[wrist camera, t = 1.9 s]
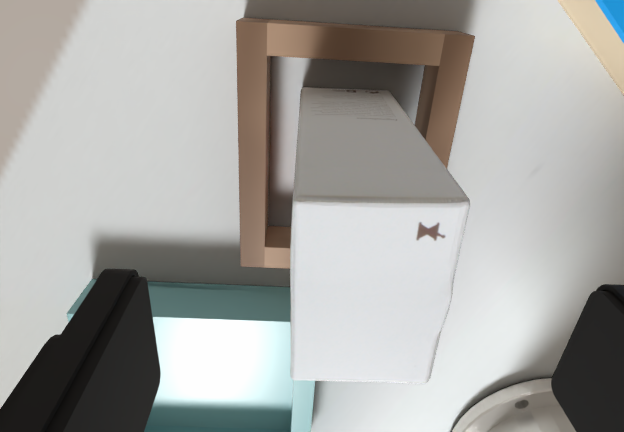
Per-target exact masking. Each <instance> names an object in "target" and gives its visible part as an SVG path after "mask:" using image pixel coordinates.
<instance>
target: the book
mask: <svg viewBox="0 0 624 432" xmlns="http://www.w3.org/2000/svg"><path fill="white" fill-rule="evenodd" d="M558 2H559V3H560V5H561V6H562V7H563V9H564V10H565V12H566V13H567V15H568V16H569V17H570V19H571V20H572V22H573V23H574V25H575V26H576V28H577V29H578V30H579V32H580V33H581V35H582V36H583V38H584V39H585V40H586V42H587V43H588V45H589V46H590V48H591V49H592V50H593V52H594V53H595V55H596V56H597V58H598V59H599V61H600V62H601V63H602V65H603V66H604V68H605V69H606V71H607V72H608V73H609V75H610V76H611V78H612V79H613V81H614V82H615V83H616V85H617V86H618V88H619V89H620V91H621V92H622V94H623V95H624V0H558Z"/></svg>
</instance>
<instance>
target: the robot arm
mask: <svg viewBox="0 0 624 432" xmlns="http://www.w3.org/2000/svg"><path fill="white" fill-rule="evenodd" d="M160 377H161V371H160V363H159V357H158V350H157V343H156V337H155V330H154V323H153V317H152V310H151V303H150V296H149V290H148V283H147V280H146V278H145V277H139V276H138V273H137V271H136V270H130V269H105V270H104V271H103V272H102V273H101V274H100V276H99V277H98V279H97V280H96V282H95V283H94V285H93V286H92V288H91V289H90V291H89V292H88V294H87V296H86V297H85V299H84V300H83V302H82V303H81V305H80V306H79V308H78V309H77V311H76V312H75V314H74V315H73V317H72V318H71V320H70V321H69V323H68V324H67V326H66V327H65V329H64V331H63V332H62V334H61V335H54V336H53V337H51V338H50V339H49V340H48V341H47V342H46V343H45V345H44V346H43V347H42V349H41V350H40V352H39V353H38V355H37V356H36V358H35V359H34V361H33V362H32V364H31V365H30V366H29V368H28V369H27V371H26V372H25V374H24V375H23V377H22V378H21V380H20V381H19V383H18V384H17V385H16V387H15V388H14V390H13V391H12V393H11V394H10V396H9V397H8V399H7V400H6V402H5V403H4V404H3V406H2V407H1V409H0V432H144V430H145V427H146V424H147V421H148V418H149V415H150V412H151V409H152V406H153V403H154V400H155V397H156V394H157V391H158V388H159V384H160ZM452 432H624V285H609V284H606V285H601V286H600V287H599V288H598V289H597V290H596V291H594V292H593V293H591V294H590V296H589V298H588V300H587V302H586V304H585V307H584V309H583V311H582V313H581V315H580V318H579V320H578V322H577V324H576V326H575V328H574V331H573V333H572V335H571V337H570V339H569V342H568V344H567V346H566V348H565V350H564V352H563V355H562V357H561V359H560V361H559V363H558V366H557V368H556V370H555V372H554V374H553V376H552V378H546V379H537V380H531V381H527V382H523V383H518V384H515V385H512V386H510V387H507V388H504V389H502V390H499V391H497V392H495V393H493V394H491V395H490V396H488V397H486V398H484V399H483V400H481V401H480V402H478V403H477V404H476V405H474V406H473V407H471V408H470V409H469V410H468V411H467V412H466V413H465V414H464V415H463V416H462V417H461V418H460V420H459V421H458V423H457V424H456V426H455V427H454V429H453V430H452Z"/></svg>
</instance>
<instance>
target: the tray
mask: <svg viewBox="0 0 624 432" xmlns="http://www.w3.org/2000/svg"><path fill="white" fill-rule="evenodd" d="M96 280H97V279H92V280H91V281H90V283H89V284H88V285H87V287H86V288H85V289H84V291H83V292H82V294H81V295H80V296H79V298H78V299H77V300H76V302H75V303H74V304H73V306H72V307H71V308H70V310H69V311H68V313H67V317H68V321H70V320H71V318H72V317H73V315H74V314H75V312H76V311H77V309H78V308H79V306H80V305H81V303H82V302H83V300H84V299H85V297H86V296H87V294H88V292H89V291H90V289H91V288H92V286H93V285H94V283H95V282H96ZM147 283H148V290H149V296H150V303H151V310H152V317H153V323H154V330H155V337H156V343H157V350H158V357H159V363H160V371H161V377H160V384H159V388H158V391H157V394H156V397H155V400H154V403H153V406H152V409H151V412H150V415H149V418H148V421H147V424H146V427H145V430H144V432H311V422H312V411H313V400H314V388H315V381H308V380H293V379H292V378H291V376H290V368H291V324H290V320H291V317H290V311H291V293H290V287H273V286H248V285H223V284H199V283H174V282H149V281H147Z"/></svg>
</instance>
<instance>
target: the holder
mask: <svg viewBox="0 0 624 432" xmlns="http://www.w3.org/2000/svg"><path fill="white" fill-rule="evenodd" d="M236 38H237V93H238V147H239V202H240V256H241V267H265V268H288V269H290V244H291V227H280V226H268V198H269V131H270V65H271V56H283V57H299V58H316V59H332V60H349V61H365V62H382V63H398V64H415V65H425V68H424V74H423V80H422V86H421V91H420V97H419V103H418V109H417V115H416V121H415V126H416V128H417V129H418V131H419V132H420V133H421V135H422V136H423V138H424V139H425V140H426V141H427V143H428V144H429V146H430V147H431V148H432V150H433V151H434V152H435V154H436V155H437V156H438V158H439V159H440V161H441V162H442V163H443V165H444V166H445V167H446V169H447V165H448V160H449V156H450V151H451V146H452V142H453V137H454V132H455V128H456V123H457V118H458V114H459V109H460V104H461V100H462V95H463V90H464V85H465V81H466V76H467V71H468V67H469V62H470V57H471V53H472V48H473V43H474V39H475V36H473V35H469V34H466V33H462V32H459V31H445V30H430V29H414V28H398V27H383V26H367V25H351V24H336V23H320V22H304V21H289V20H273V19H257V18H241V19H239V20H237V21H236Z"/></svg>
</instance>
